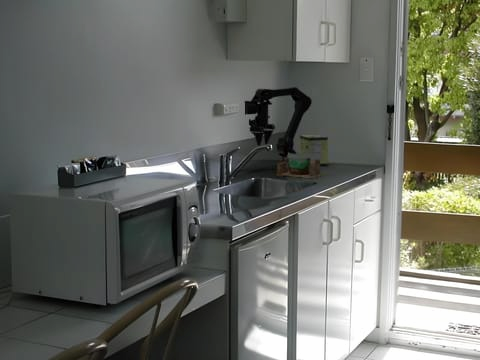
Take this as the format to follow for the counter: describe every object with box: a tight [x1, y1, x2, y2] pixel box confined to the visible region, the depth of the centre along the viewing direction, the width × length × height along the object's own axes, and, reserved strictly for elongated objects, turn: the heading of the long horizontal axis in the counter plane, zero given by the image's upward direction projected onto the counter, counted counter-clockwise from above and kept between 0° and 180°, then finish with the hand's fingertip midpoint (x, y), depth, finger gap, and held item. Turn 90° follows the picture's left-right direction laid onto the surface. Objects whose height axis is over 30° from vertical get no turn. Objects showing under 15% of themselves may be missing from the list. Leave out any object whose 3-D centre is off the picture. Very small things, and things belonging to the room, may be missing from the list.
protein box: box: [299, 134, 329, 167], centre depth 391 cm, size 10×16×16 cm
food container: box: [287, 152, 312, 175], centre depth 349 cm, size 12×6×10 cm, turn 62°
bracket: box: [275, 157, 322, 179], centre depth 351 cm, size 10×19×8 cm, turn 62°
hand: (262, 145), depth 368 cm, fingers open, 9 cm apart
